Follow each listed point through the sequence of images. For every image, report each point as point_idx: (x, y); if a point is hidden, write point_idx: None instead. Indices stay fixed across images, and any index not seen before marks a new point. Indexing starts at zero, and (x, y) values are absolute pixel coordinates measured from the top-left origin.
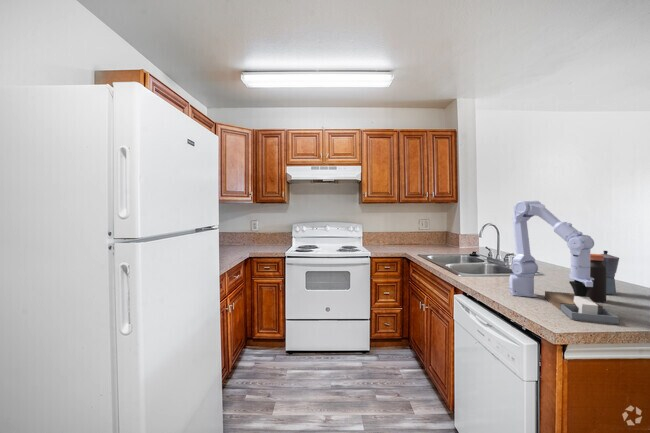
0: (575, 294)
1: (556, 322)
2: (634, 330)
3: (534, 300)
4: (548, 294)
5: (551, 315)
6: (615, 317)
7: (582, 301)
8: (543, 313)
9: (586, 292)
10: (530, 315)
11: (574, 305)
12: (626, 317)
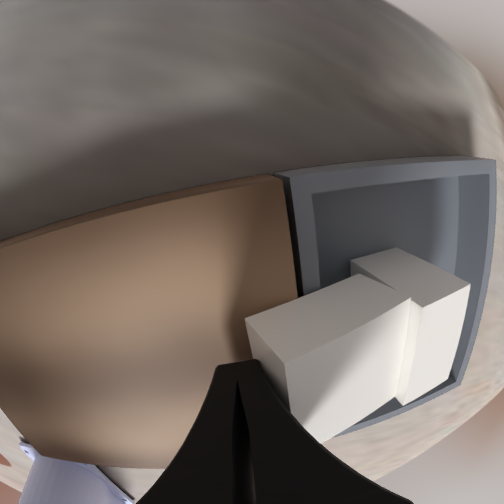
0: (251, 458)
1: (464, 393)
2: (496, 120)
3: (152, 470)
4: (92, 461)
5: (396, 421)
6: (494, 179)
7: (381, 387)
8: (375, 442)
9: (310, 439)
10: (406, 453)
11: None
12: (255, 20)
